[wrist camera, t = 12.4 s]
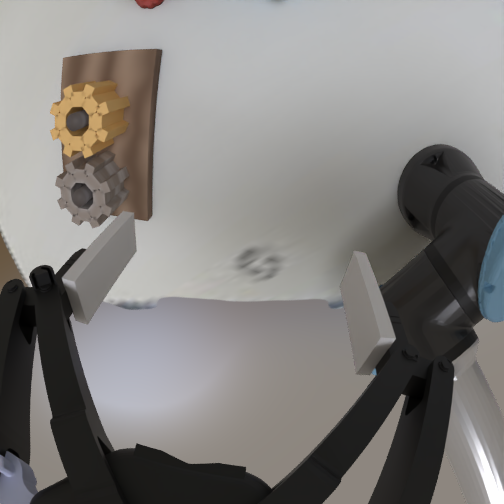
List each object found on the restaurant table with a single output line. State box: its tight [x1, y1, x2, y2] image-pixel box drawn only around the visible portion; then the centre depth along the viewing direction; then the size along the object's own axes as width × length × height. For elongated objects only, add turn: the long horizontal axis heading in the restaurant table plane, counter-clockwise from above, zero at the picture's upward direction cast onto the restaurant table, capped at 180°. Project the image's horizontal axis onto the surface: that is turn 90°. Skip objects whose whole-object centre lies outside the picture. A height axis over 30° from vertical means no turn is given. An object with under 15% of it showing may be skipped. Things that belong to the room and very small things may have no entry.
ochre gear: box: [50, 80, 130, 158], centre depth 32 cm, size 10×10×6 cm
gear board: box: [55, 49, 162, 228], centre depth 35 cm, size 16×26×9 cm, turn 171°
